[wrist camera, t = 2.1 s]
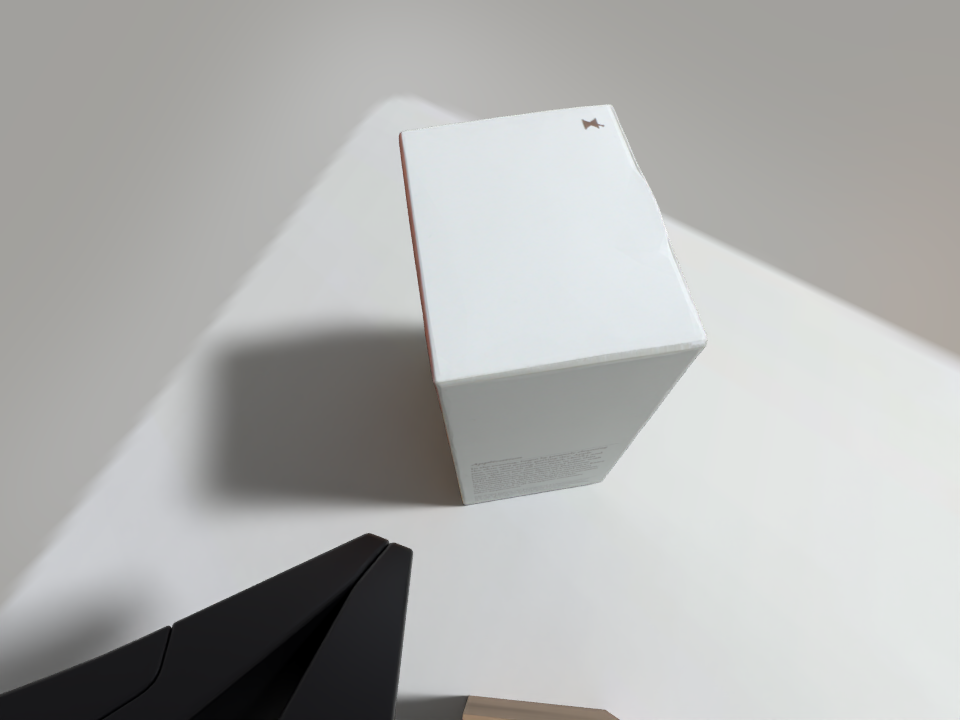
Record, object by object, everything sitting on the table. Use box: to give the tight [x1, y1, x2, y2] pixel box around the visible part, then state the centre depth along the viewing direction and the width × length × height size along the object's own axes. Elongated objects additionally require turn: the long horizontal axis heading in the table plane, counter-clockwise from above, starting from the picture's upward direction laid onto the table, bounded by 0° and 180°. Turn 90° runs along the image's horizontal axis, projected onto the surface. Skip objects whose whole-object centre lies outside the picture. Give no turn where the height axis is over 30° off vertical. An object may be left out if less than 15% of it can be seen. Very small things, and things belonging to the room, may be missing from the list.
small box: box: [399, 104, 707, 505], centre depth 19 cm, size 8×6×13 cm
